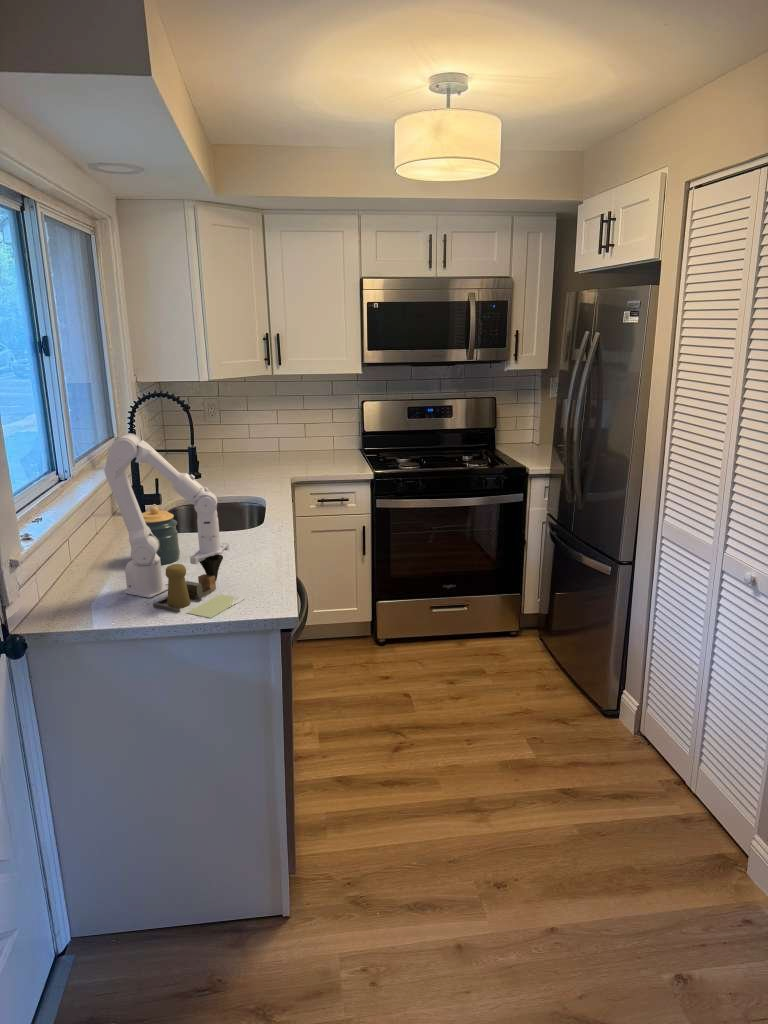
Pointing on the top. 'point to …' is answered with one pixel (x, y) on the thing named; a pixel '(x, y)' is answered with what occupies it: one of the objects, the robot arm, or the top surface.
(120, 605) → the top surface
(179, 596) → the brown pepper mill
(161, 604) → the socket
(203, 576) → the key
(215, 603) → the mat
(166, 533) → the canister
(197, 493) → the robot arm
